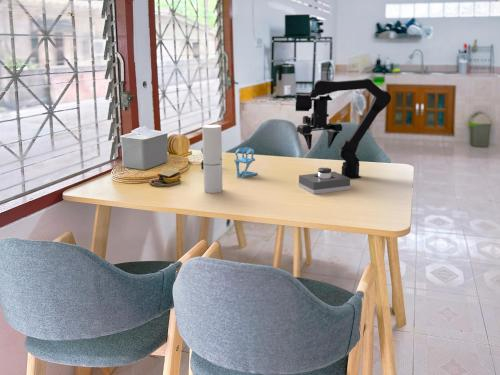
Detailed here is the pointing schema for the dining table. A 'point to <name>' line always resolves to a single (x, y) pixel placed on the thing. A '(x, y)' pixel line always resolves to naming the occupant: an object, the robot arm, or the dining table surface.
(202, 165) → the watch
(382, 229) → the dining table surface
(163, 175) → the toy sandwich meal
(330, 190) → the grey plate with pocket
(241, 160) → the chair
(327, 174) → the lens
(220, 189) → the cylindrical container
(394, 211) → the dining table surface
